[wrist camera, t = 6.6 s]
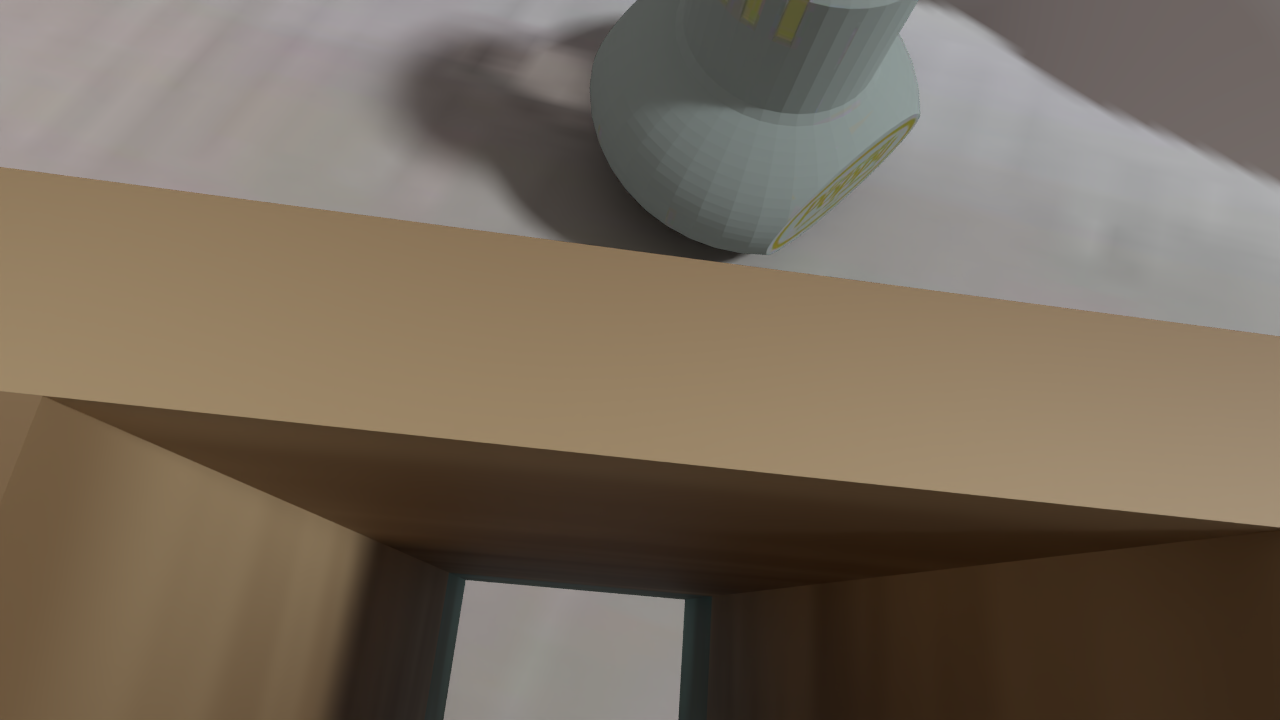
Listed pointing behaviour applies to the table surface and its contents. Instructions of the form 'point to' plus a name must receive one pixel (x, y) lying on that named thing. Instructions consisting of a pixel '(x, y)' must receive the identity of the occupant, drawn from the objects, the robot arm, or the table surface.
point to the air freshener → (751, 110)
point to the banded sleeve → (603, 474)
